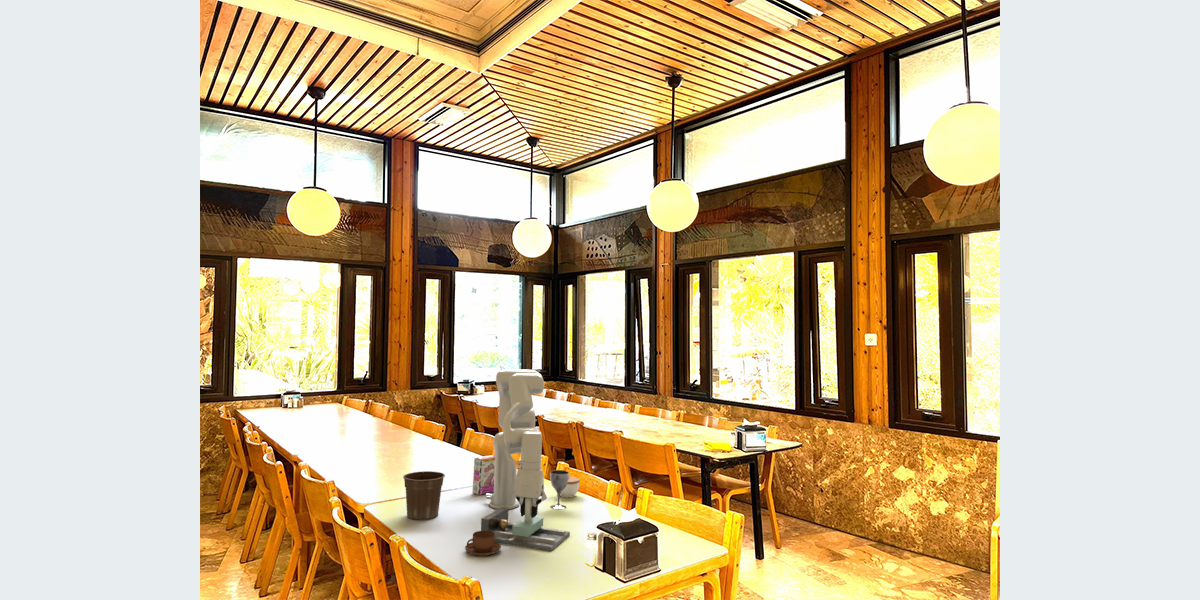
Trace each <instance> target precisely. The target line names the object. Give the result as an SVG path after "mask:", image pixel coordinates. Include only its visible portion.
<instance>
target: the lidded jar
mask: <svg viewBox="0 0 1200 600" xmlns="http://www.w3.org/2000/svg"><path fill="white" fill-rule="evenodd" d="M580 481H581V480H580V478H578V477H576V476H569V478H568V483H567V486H566V487H565V488H564V489H563V490H562V492H561V494H560V497H562V498H568V497H570V498H574V497H575V496H576V494H577V493H578V492H579V488H580ZM573 496H574V497H573Z"/></svg>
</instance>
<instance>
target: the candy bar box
mask: <svg viewBox="0 0 1200 600" xmlns="http://www.w3.org/2000/svg"><path fill="white" fill-rule="evenodd" d="M494 472H495V454H493V455H492V454H491V455H484V456H479V457H474V460H473V480H472V494H473V495H477V496H481V495H486V494H491V493H494Z"/></svg>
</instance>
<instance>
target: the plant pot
mask: <svg viewBox="0 0 1200 600" xmlns="http://www.w3.org/2000/svg"><path fill="white" fill-rule="evenodd" d="M445 476H446V475H445V473H443V472H440V471H429V470H428V471H427V470H426V471H415V472H413V471H412V472H409V473H405V474H404V475H402V478H403V480H404V481H403V482H404V488H405V499H406V501H405V503H406V517H407V518H408V519H411V520H416V519H417V520H418V521H419V520H420V521H422V520H423V521H424V520H430V519H433V518H434V519H435V518H436V517H437V516H439V511H440V504H441V503H440V502H441V494H442V486H443V484H444V478H445Z"/></svg>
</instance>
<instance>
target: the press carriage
mask: <svg viewBox="0 0 1200 600" xmlns="http://www.w3.org/2000/svg"><path fill="white" fill-rule="evenodd" d="M532 506H533V499H532V498H525V515H524V518H523V519H521V520H520V521H518V522H517V523H514V524H515V525H514V526H513V530H512V535H518V536H524V537H528V536H530V535H531V534H533V533H534V532H535V531H537V530H538V529H539V528H541V527H542V528H543V527H544V517H540V516H535V517H534V518H532V517H531V512H532Z"/></svg>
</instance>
